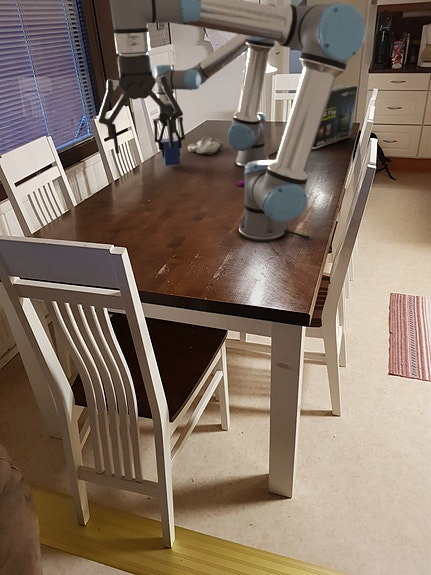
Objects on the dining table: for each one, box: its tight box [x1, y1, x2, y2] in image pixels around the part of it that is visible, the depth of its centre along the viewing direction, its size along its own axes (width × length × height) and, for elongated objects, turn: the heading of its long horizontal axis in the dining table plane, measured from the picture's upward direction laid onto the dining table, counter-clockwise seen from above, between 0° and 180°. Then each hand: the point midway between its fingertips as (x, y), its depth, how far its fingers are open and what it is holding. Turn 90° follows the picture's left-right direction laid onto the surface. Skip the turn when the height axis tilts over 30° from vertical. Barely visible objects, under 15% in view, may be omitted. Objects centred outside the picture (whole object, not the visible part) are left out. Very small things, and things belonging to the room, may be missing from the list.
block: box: [161, 137, 181, 167], centre depth 213 cm, size 7×7×11 cm
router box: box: [313, 84, 358, 147], centre depth 238 cm, size 36×11×27 cm, turn 134°
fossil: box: [187, 135, 224, 156], centre depth 238 cm, size 18×11×15 cm
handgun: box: [238, 180, 245, 187], centre depth 183 cm, size 21×8×2 cm, turn 11°
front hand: (144, 149), depth 115 cm, fingers open, 13 cm apart
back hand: (170, 156), depth 214 cm, fingers closed on block, 7 cm apart
